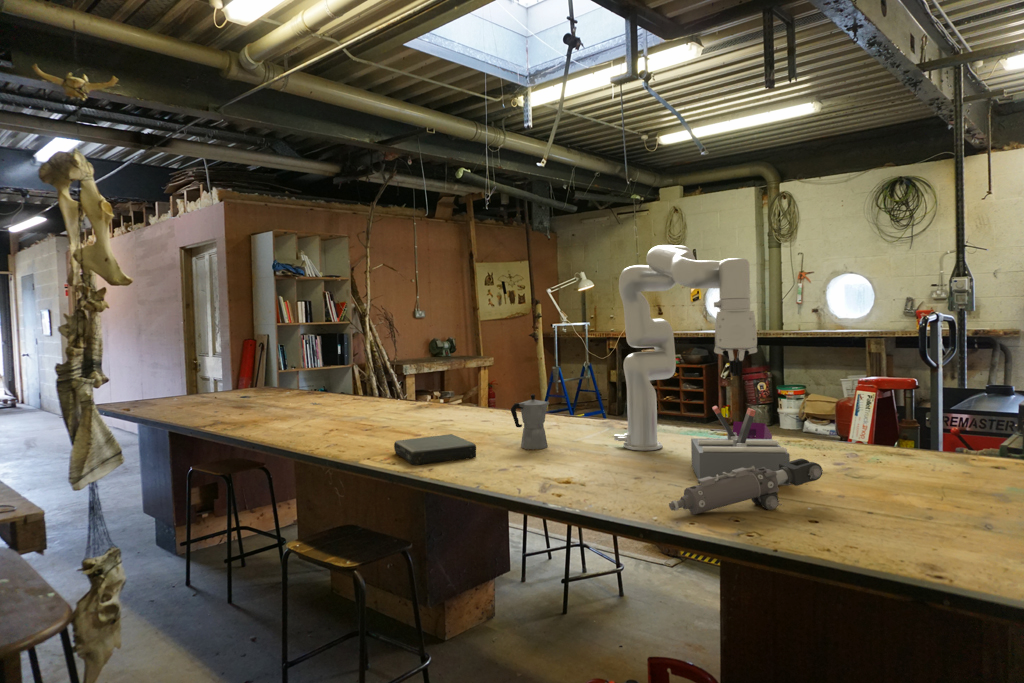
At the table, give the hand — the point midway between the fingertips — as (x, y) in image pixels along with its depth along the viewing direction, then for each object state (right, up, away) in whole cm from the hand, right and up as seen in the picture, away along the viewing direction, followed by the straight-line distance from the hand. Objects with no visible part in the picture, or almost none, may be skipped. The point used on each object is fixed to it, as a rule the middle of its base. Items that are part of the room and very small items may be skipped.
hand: (735, 375), depth 165 cm
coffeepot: (-52, -27, +47) cm, 76 cm away
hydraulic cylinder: (-6, -29, -23) cm, 38 cm away
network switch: (-84, -29, +39) cm, 97 cm away
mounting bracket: (+19, -26, +37) cm, 49 cm away
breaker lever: (+1, -19, +1) cm, 19 cm away
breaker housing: (+2, -27, +5) cm, 28 cm away
